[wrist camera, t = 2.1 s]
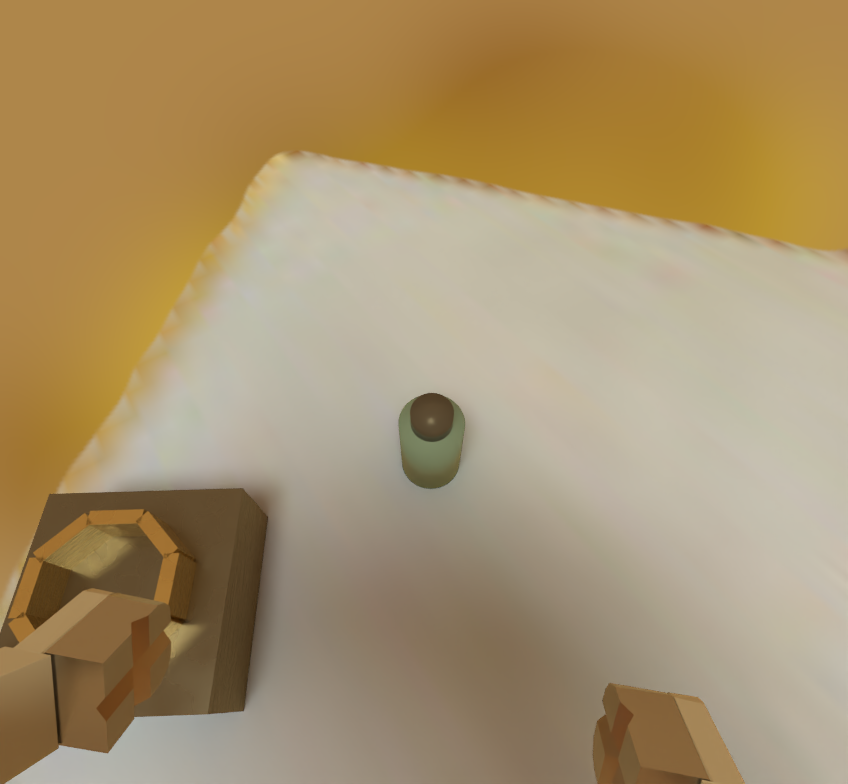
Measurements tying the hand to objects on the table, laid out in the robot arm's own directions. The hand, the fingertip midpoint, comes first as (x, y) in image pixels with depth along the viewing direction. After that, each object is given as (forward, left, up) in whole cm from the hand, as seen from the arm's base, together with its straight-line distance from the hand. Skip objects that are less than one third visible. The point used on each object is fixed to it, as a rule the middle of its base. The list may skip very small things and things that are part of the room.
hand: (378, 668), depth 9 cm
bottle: (+15, -2, -26) cm, 30 cm away
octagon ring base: (+5, +16, -26) cm, 31 cm away
